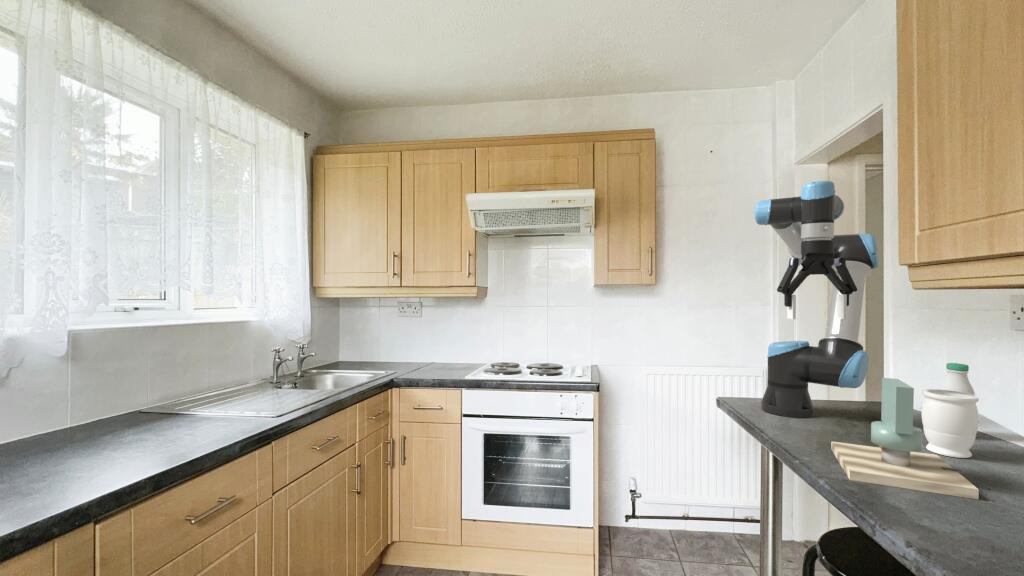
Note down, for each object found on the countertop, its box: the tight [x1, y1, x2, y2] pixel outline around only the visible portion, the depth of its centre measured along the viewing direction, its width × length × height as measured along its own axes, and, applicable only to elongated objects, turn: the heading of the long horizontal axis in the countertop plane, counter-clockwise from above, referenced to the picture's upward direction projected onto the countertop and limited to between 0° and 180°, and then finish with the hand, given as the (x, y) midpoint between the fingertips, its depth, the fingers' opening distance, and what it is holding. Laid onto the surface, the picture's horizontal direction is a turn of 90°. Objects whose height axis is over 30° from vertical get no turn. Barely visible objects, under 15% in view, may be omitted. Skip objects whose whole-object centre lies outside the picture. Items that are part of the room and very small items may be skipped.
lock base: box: [830, 441, 980, 500], centre depth 108 cm, size 22×22×6 cm
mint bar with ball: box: [870, 377, 924, 452], centre depth 108 cm, size 9×13×14 cm
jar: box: [920, 388, 980, 459], centre depth 120 cm, size 11×10×15 cm
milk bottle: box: [938, 362, 976, 396], centre depth 135 cm, size 8×8×20 cm
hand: (816, 318), depth 129 cm, fingers open, 13 cm apart
